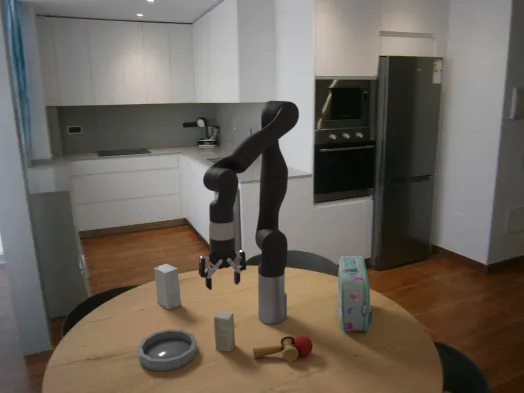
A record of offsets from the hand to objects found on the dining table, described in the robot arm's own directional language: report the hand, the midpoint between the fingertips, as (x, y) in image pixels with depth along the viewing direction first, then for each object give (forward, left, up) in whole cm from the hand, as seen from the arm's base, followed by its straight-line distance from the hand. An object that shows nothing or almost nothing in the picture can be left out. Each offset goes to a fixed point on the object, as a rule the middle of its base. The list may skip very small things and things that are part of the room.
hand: (223, 286), depth 125 cm
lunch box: (-47, +2, -21) cm, 51 cm away
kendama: (-14, +12, -21) cm, 28 cm away
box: (0, 0, -21) cm, 21 cm away
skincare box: (+10, -36, -21) cm, 43 cm away
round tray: (+17, -4, -21) cm, 27 cm away
